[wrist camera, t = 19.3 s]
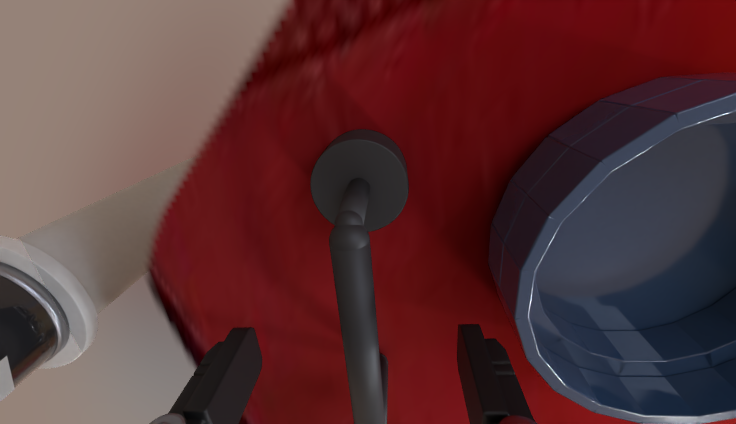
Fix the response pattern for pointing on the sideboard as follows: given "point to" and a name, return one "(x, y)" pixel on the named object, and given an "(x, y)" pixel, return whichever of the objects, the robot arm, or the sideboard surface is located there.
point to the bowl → (629, 253)
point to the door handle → (360, 250)
